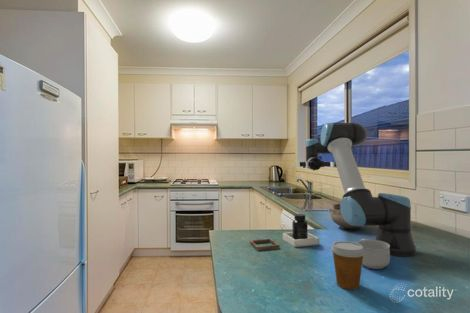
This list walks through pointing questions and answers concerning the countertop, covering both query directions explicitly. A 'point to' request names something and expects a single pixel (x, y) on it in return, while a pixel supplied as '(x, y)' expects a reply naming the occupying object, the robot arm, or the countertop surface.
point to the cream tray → (301, 240)
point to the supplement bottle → (299, 227)
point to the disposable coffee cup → (348, 263)
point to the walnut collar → (259, 248)
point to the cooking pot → (340, 218)
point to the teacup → (375, 253)
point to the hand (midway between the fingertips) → (320, 164)
